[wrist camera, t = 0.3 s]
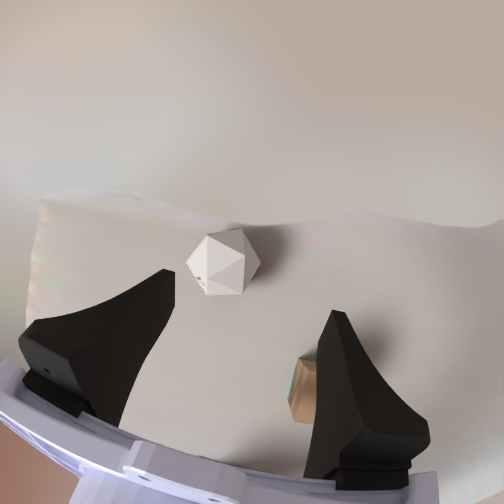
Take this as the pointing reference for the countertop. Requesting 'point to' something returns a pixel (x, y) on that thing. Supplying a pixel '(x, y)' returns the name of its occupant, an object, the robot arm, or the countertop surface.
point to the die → (224, 262)
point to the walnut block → (303, 392)
